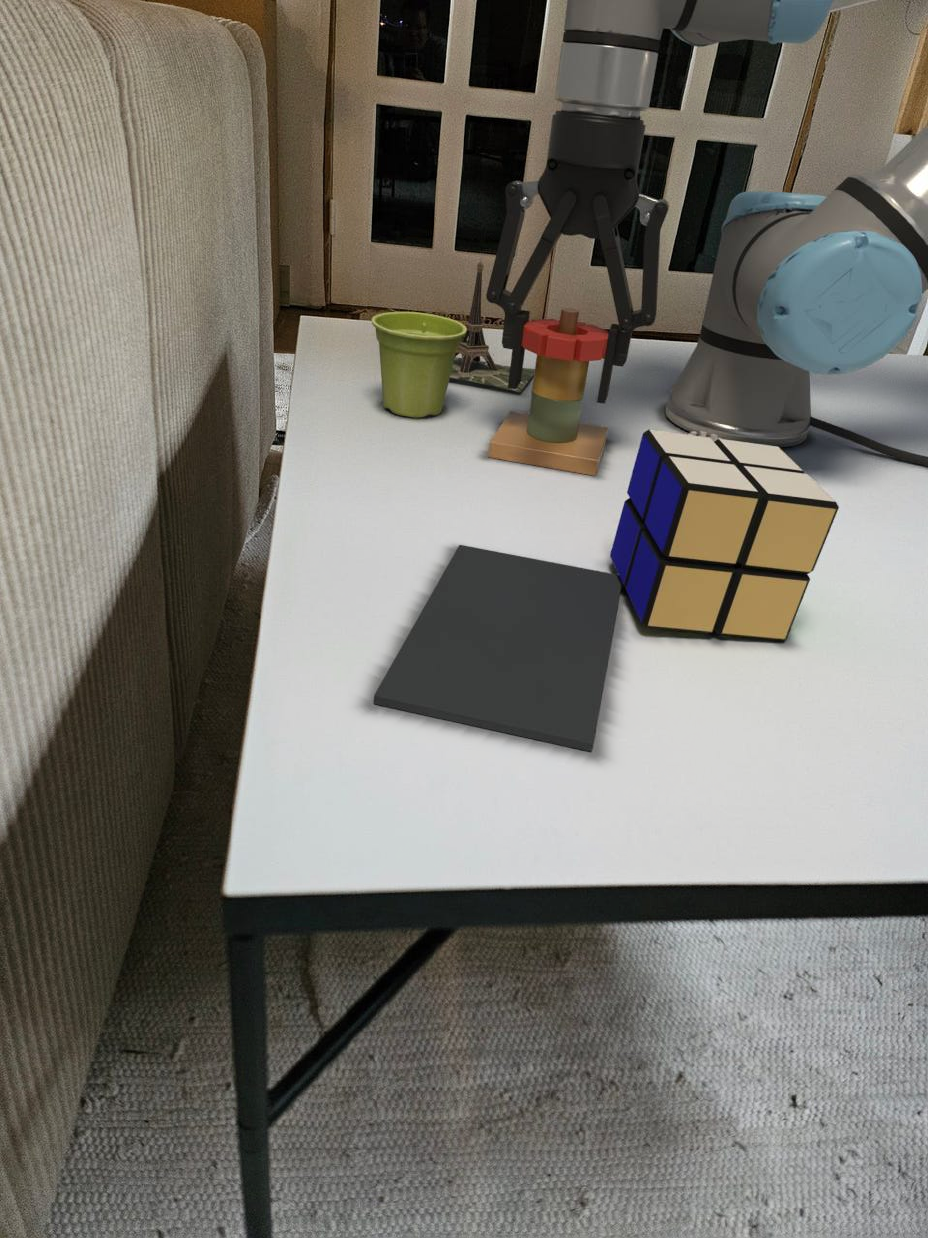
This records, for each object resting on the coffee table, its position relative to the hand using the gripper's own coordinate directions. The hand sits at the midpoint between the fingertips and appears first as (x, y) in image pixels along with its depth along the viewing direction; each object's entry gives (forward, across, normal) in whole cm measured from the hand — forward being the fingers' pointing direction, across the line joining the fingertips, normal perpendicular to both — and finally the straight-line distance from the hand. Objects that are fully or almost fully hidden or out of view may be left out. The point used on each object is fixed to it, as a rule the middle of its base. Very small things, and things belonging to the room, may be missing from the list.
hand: (558, 391), depth 84 cm
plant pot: (+6, +15, -5) cm, 17 cm away
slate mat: (+6, -3, +35) cm, 36 cm away
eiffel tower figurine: (+6, +13, -21) cm, 25 cm away
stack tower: (+6, 0, 0) cm, 6 cm away
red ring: (-4, 0, 0) cm, 4 cm away
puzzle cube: (+5, -14, +26) cm, 30 cm away
